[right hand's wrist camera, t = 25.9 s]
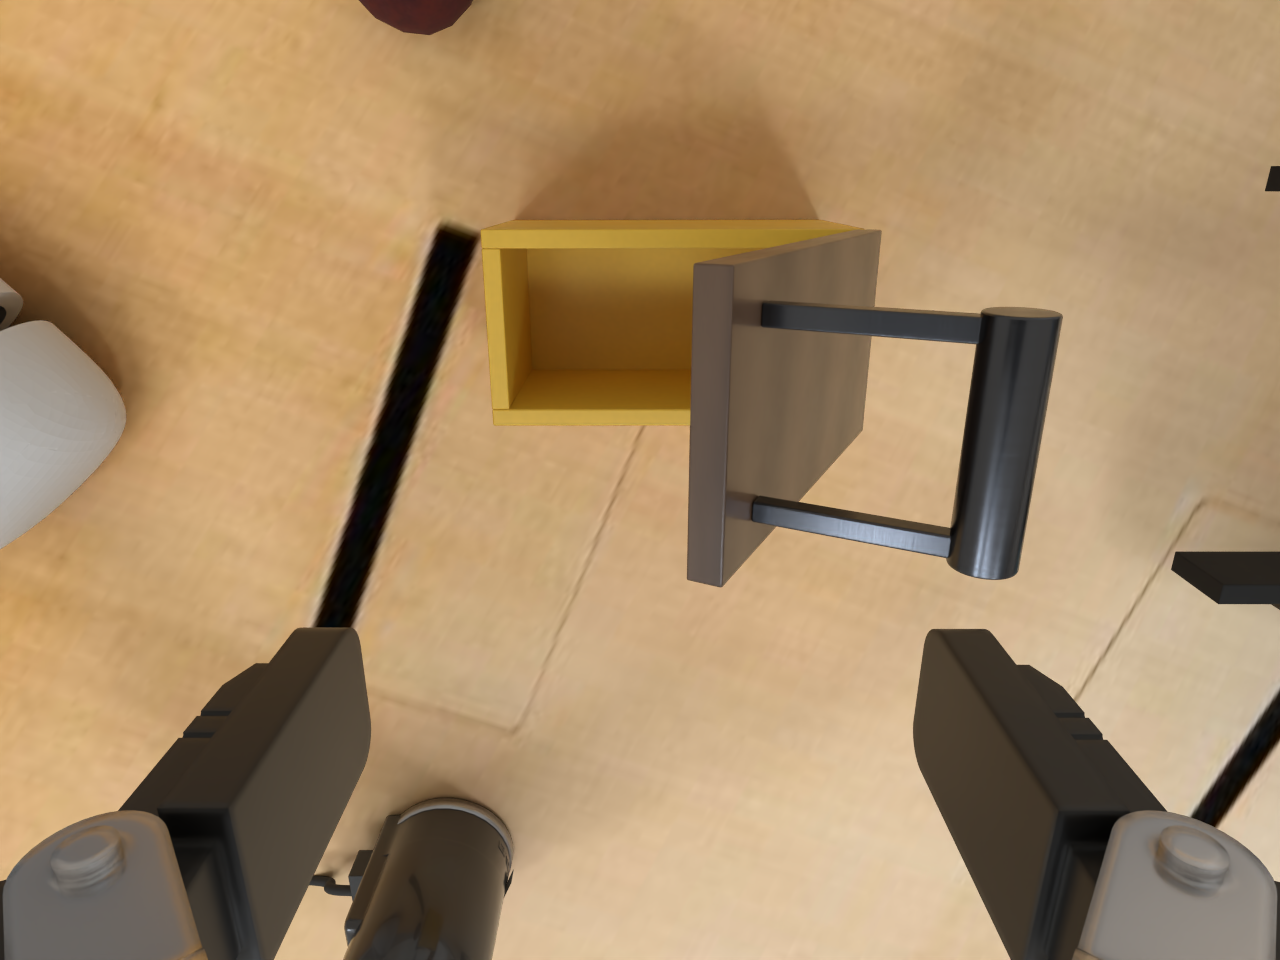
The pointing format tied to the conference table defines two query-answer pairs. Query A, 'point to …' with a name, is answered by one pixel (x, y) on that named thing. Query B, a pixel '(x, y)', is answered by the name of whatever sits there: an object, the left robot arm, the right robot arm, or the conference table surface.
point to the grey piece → (48, 418)
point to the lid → (846, 406)
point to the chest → (604, 313)
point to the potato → (417, 13)
